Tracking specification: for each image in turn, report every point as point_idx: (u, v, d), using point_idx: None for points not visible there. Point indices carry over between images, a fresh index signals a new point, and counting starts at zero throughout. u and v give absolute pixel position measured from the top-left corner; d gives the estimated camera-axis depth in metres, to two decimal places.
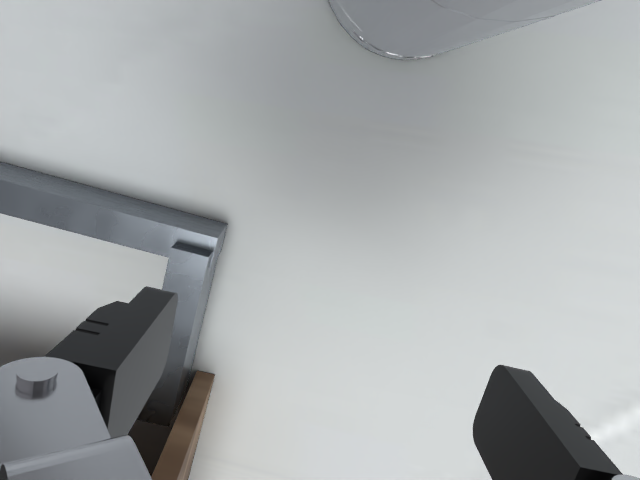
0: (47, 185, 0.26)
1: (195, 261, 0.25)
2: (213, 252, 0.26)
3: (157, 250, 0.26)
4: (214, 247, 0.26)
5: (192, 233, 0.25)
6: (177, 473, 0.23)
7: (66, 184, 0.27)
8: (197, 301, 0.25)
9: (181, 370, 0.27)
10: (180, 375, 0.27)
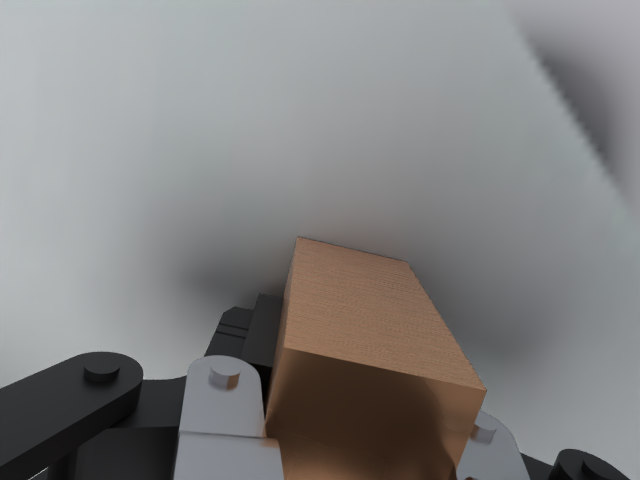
0: None
1: None
2: None
3: None
4: None
5: None
6: None
7: None
8: None
9: None
10: None
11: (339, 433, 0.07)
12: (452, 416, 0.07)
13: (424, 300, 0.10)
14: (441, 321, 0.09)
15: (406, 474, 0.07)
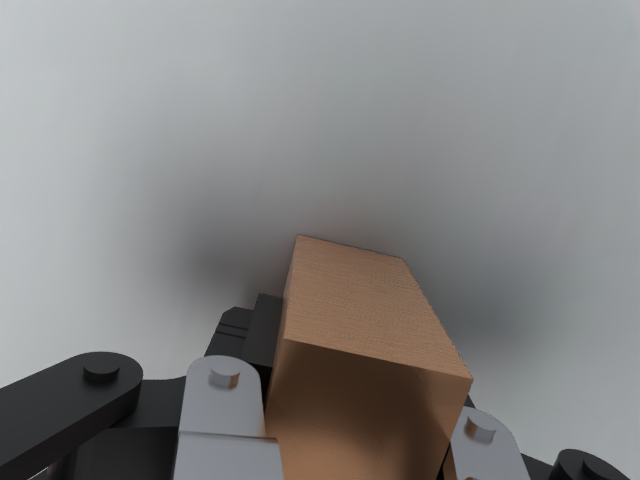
0: None
1: None
2: None
3: None
4: None
5: None
6: None
7: None
8: None
9: None
10: None
11: (336, 419, 0.07)
12: (441, 403, 0.07)
13: (418, 295, 0.10)
14: (433, 315, 0.09)
15: (398, 457, 0.08)
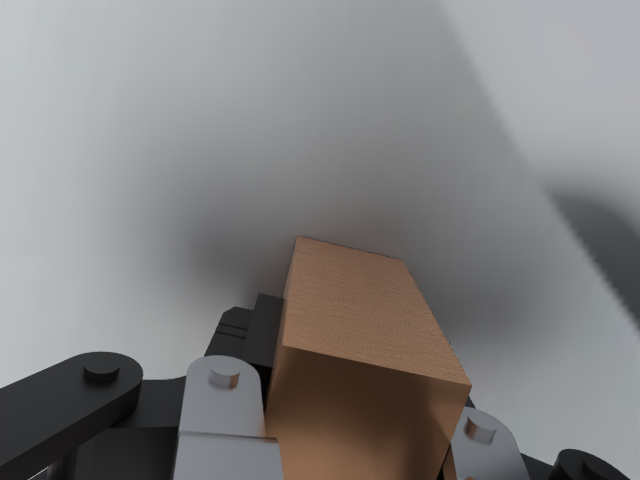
0: None
1: None
2: None
3: None
4: None
5: None
6: None
7: None
8: None
9: None
10: None
11: (334, 424, 0.07)
12: (440, 409, 0.07)
13: (418, 298, 0.10)
14: (433, 319, 0.09)
15: (397, 463, 0.08)
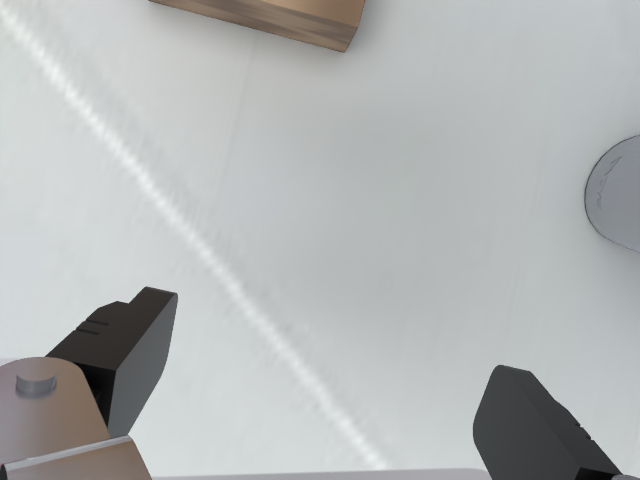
0: None
1: None
2: None
3: None
4: None
5: None
6: (354, 33, 0.28)
7: None
8: None
9: None
10: None
11: None
12: None
13: None
14: None
15: None
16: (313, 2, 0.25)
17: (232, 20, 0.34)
